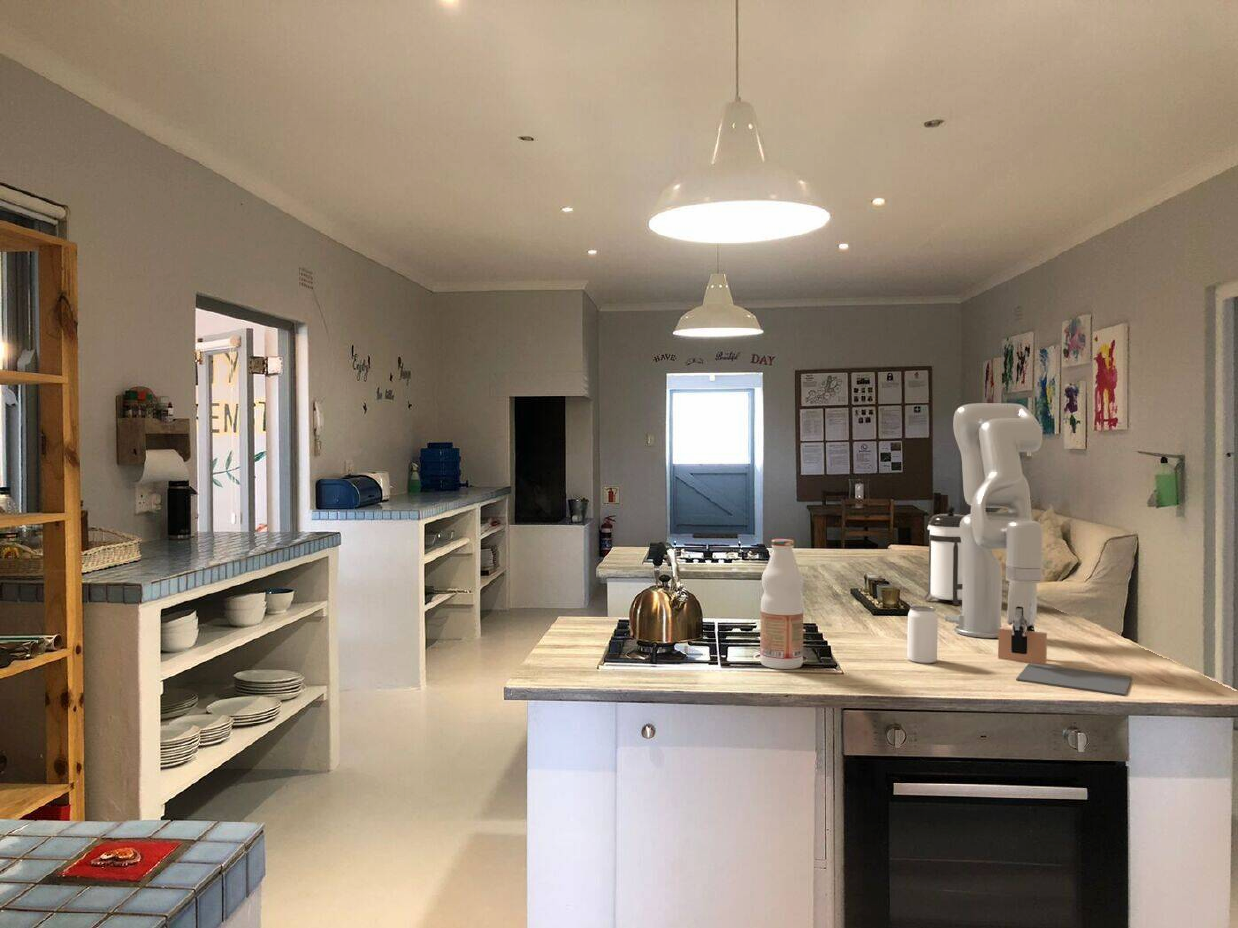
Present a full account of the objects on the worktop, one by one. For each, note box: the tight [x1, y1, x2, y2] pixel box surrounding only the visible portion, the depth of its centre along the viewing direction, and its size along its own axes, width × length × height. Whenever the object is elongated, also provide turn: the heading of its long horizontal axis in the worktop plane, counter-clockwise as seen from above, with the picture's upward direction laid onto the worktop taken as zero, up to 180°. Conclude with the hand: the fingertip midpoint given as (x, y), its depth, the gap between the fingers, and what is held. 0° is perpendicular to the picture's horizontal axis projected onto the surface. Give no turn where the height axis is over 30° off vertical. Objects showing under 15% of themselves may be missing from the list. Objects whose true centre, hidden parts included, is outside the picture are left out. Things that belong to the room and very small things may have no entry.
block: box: [997, 627, 1048, 665], centre depth 204 cm, size 10×2×7 cm, turn 56°
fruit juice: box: [759, 538, 804, 670], centre depth 199 cm, size 9×9×28 cm
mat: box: [1015, 662, 1132, 697], centre depth 188 cm, size 20×16×1 cm
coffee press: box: [924, 505, 965, 607], centre depth 277 cm, size 17×16×30 cm
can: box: [906, 605, 939, 665], centre depth 204 cm, size 6×6×12 cm
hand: (1023, 649), depth 204 cm, fingers open, 9 cm apart
